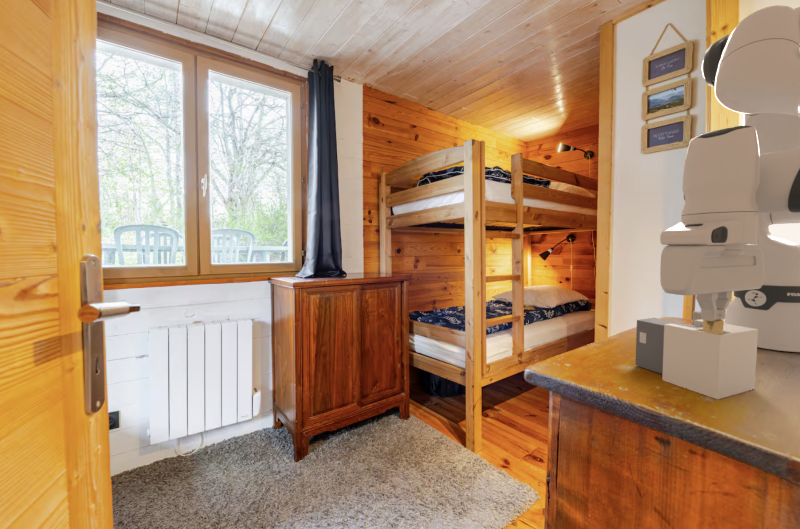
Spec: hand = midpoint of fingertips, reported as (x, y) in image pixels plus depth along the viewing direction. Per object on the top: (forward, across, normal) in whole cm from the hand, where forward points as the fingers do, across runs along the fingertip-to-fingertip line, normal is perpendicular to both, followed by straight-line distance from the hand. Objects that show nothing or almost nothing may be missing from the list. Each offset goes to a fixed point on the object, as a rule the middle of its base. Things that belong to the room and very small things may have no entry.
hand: (712, 319), depth 54 cm
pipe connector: (+12, -15, -10) cm, 22 cm away
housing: (+12, -3, -2) cm, 12 cm away
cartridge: (+12, -3, -8) cm, 15 cm away
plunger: (+6, 0, 0) cm, 6 cm away
